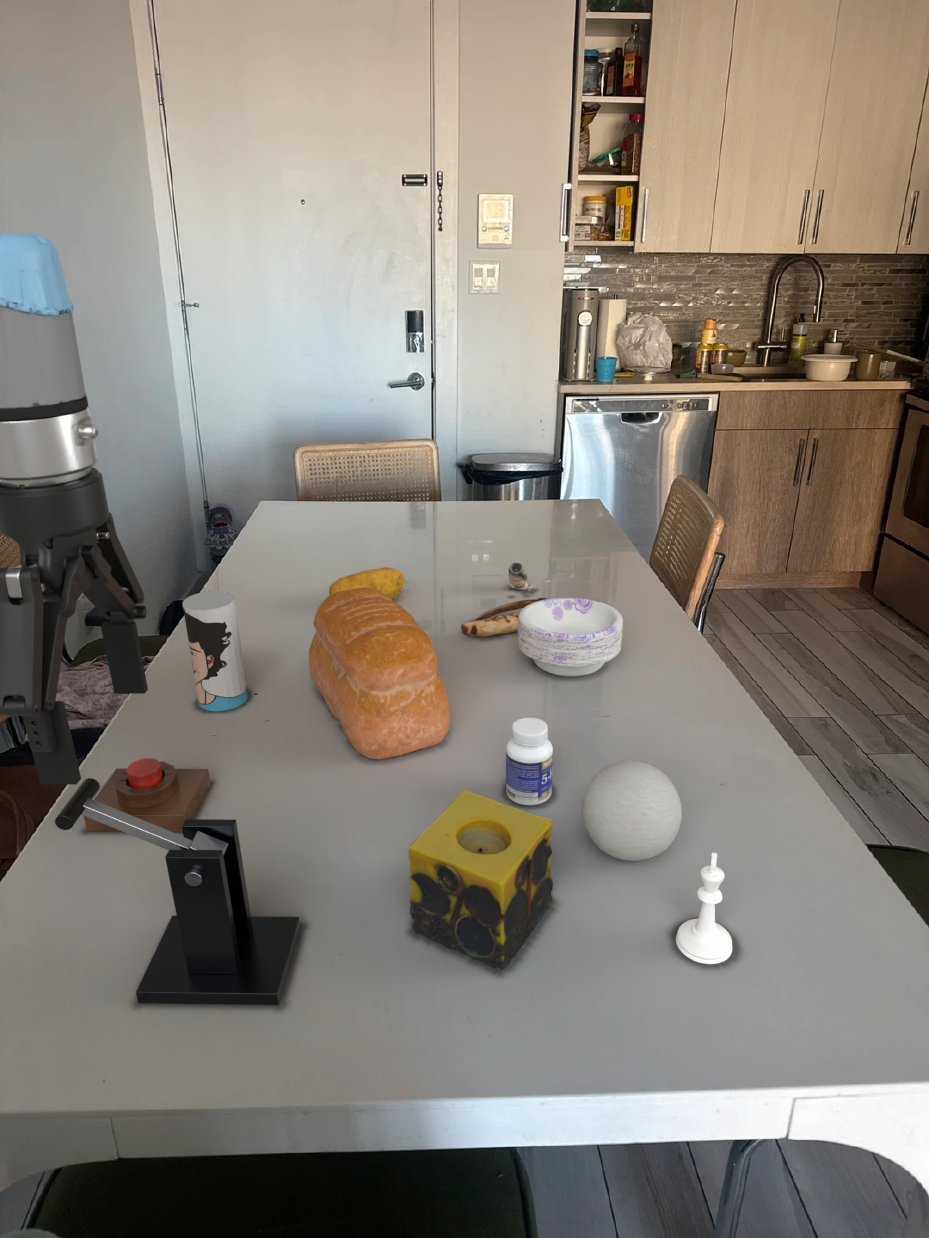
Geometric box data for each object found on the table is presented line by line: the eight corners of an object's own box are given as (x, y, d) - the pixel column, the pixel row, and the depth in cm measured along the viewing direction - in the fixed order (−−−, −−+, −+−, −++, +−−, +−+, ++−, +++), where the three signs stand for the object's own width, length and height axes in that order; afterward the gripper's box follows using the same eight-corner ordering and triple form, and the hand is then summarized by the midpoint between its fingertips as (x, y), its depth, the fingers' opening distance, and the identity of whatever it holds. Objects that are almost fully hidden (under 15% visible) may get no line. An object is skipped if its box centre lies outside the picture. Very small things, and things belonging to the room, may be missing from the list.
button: (124, 789, 96) (121, 775, 95) (136, 770, 99) (133, 757, 99) (156, 789, 96) (153, 775, 95) (167, 770, 99) (164, 757, 98)
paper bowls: (592, 635, 139) (594, 589, 136) (639, 677, 126) (642, 626, 122) (502, 650, 134) (502, 602, 131) (541, 695, 121) (542, 643, 118)
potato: (414, 606, 151) (412, 569, 148) (339, 622, 145) (335, 584, 143) (396, 591, 157) (394, 556, 155) (323, 606, 152) (320, 570, 149)
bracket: (138, 1003, 74) (107, 873, 68) (174, 925, 82) (149, 804, 76) (278, 1005, 73) (259, 874, 68) (300, 927, 81) (285, 805, 76)
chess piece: (733, 929, 80) (745, 841, 76) (731, 969, 76) (744, 878, 72) (678, 919, 81) (687, 831, 77) (673, 957, 77) (682, 867, 73)
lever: (50, 830, 69) (58, 808, 68) (79, 791, 74) (87, 770, 73) (205, 892, 71) (216, 872, 70) (224, 851, 76) (233, 831, 75)
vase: (526, 600, 153) (526, 568, 150) (497, 595, 155) (497, 564, 152) (537, 589, 157) (537, 558, 155) (509, 585, 159) (509, 554, 157)
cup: (221, 683, 126) (207, 587, 120) (257, 693, 123) (245, 595, 117) (187, 704, 121) (171, 605, 114) (225, 715, 118) (210, 613, 112)
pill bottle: (550, 808, 97) (551, 740, 94) (503, 804, 98) (503, 737, 95) (553, 781, 102) (555, 715, 99) (508, 778, 103) (508, 712, 99)
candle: (464, 868, 88) (462, 786, 84) (554, 903, 84) (557, 817, 80) (407, 932, 80) (402, 845, 76) (504, 974, 76) (503, 884, 72)
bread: (390, 661, 132) (385, 567, 126) (461, 744, 110) (458, 635, 104) (303, 679, 127) (293, 582, 121) (359, 771, 105) (350, 658, 99)
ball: (583, 881, 86) (587, 797, 82) (577, 819, 95) (580, 741, 91) (685, 883, 86) (694, 799, 82) (669, 821, 95) (676, 742, 91)
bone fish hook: (541, 609, 150) (445, 627, 143) (541, 583, 148) (444, 600, 141) (569, 628, 142) (470, 647, 135) (570, 600, 140) (469, 619, 133)
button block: (87, 831, 95) (79, 801, 94) (119, 783, 103) (113, 755, 102) (186, 831, 95) (180, 801, 93) (211, 784, 103) (206, 755, 101)
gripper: (5, 527, 50) (77, 830, 58) (158, 434, 72) (193, 662, 81) (-123, 528, 50) (-33, 829, 59) (69, 435, 73) (114, 662, 81)
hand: (99, 733), depth 70 cm, fingers open, 13 cm apart
